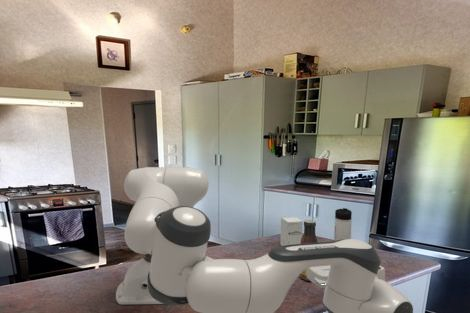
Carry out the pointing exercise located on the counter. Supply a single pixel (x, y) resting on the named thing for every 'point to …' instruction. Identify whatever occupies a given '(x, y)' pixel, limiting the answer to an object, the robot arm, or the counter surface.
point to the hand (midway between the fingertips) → (328, 260)
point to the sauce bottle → (308, 239)
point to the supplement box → (291, 231)
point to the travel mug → (342, 224)
